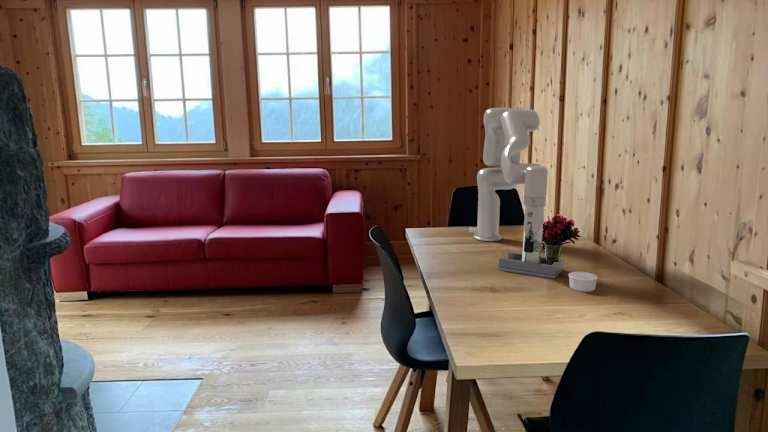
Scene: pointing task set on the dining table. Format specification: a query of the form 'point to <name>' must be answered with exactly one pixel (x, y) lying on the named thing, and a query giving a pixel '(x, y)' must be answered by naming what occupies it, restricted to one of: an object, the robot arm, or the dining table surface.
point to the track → (530, 266)
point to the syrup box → (537, 248)
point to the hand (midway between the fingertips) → (531, 249)
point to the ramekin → (582, 281)
